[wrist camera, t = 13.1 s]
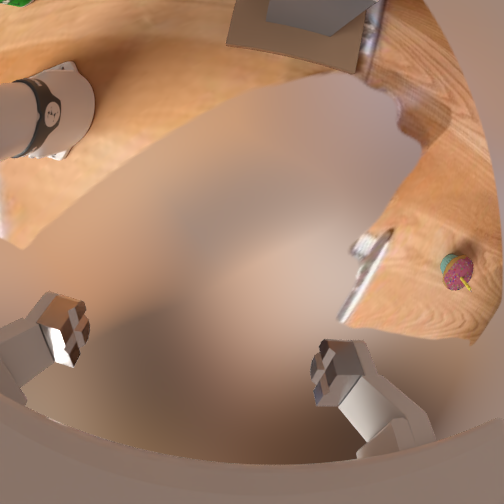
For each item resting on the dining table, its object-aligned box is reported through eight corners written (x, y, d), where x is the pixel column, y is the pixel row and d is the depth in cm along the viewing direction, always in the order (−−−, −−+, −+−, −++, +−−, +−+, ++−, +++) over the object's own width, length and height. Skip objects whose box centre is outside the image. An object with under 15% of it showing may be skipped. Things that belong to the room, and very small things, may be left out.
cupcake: (428, 275, 55) (454, 307, 45) (444, 242, 51) (475, 271, 41) (451, 280, 56) (476, 310, 46) (466, 250, 52) (496, 278, 42)
